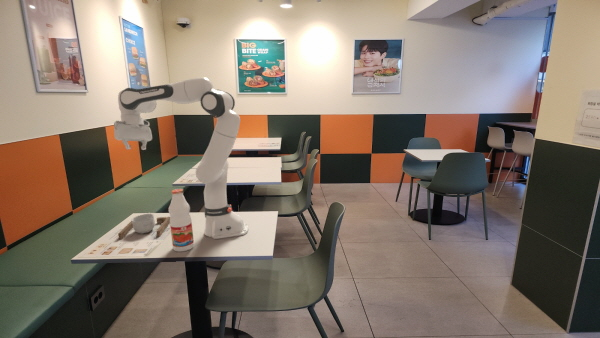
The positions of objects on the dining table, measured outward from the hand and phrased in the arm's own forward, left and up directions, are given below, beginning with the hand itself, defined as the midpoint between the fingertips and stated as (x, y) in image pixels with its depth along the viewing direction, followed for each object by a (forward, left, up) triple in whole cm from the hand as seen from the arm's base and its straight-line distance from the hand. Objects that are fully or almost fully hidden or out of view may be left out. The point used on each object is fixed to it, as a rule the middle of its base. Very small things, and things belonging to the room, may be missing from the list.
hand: (136, 149), depth 166 cm
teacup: (+1, -2, -44) cm, 44 cm away
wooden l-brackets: (+1, -2, -44) cm, 44 cm away
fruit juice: (-24, +23, -44) cm, 55 cm away
